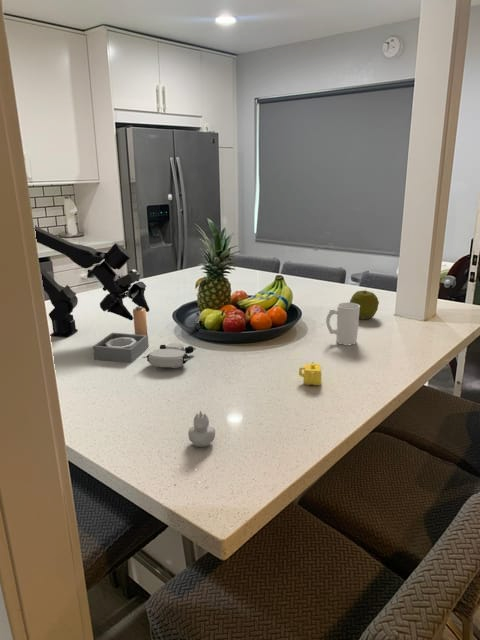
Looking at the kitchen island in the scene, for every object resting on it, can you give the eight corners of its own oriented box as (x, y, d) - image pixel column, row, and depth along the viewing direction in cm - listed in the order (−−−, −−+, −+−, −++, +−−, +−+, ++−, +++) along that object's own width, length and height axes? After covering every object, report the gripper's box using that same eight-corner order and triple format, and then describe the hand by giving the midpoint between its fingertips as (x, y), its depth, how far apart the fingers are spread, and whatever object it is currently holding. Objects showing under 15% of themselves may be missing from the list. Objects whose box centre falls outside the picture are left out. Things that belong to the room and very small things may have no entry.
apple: (346, 320, 173) (348, 290, 169) (351, 312, 181) (353, 284, 178) (375, 323, 169) (378, 293, 166) (378, 315, 178) (381, 286, 174)
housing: (94, 359, 141) (92, 346, 140) (113, 344, 152) (112, 332, 151) (132, 362, 138) (130, 349, 137) (148, 347, 150) (147, 335, 148)
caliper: (199, 331, 164) (198, 313, 162) (196, 331, 164) (195, 313, 162) (209, 313, 183) (209, 297, 181) (206, 313, 183) (206, 297, 181)
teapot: (299, 375, 130) (299, 357, 128) (320, 376, 129) (321, 358, 127) (298, 388, 122) (298, 369, 121) (321, 389, 121) (322, 371, 120)
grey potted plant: (186, 451, 96) (185, 416, 94) (191, 433, 102) (189, 400, 100) (213, 452, 96) (212, 416, 93) (216, 434, 102) (215, 400, 100)
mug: (354, 338, 156) (357, 302, 152) (359, 345, 149) (362, 308, 146) (323, 338, 156) (325, 302, 152) (326, 345, 150) (328, 308, 146)
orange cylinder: (133, 338, 157) (130, 308, 154) (138, 334, 160) (135, 305, 157) (144, 339, 156) (142, 309, 153) (149, 335, 160) (147, 305, 156)
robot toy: (159, 354, 147) (141, 371, 133) (159, 339, 146) (141, 355, 132) (198, 356, 145) (184, 373, 131) (198, 342, 144) (184, 358, 130)
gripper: (103, 269, 144) (137, 308, 144) (139, 257, 161) (169, 292, 160) (85, 292, 150) (118, 330, 149) (121, 278, 166) (151, 312, 165)
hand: (140, 315), depth 156 cm, fingers open, 9 cm apart
